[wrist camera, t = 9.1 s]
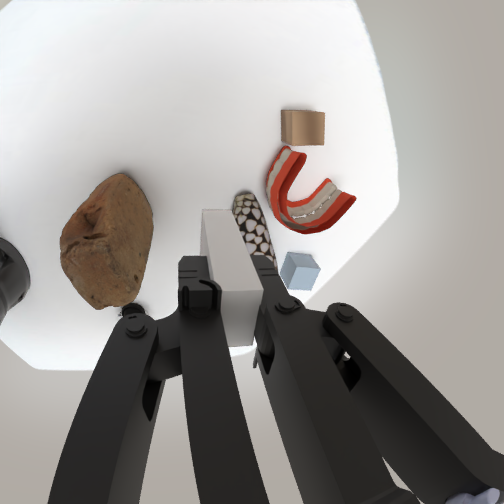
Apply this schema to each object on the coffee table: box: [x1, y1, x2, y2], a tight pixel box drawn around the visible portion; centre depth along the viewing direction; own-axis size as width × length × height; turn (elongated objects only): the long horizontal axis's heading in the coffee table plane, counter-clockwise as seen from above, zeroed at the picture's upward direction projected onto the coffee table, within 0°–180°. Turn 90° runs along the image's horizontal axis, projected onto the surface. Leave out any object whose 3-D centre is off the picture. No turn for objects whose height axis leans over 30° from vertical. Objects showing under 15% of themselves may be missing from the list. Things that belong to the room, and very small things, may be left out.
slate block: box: [280, 252, 320, 290], centre depth 52 cm, size 5×5×5 cm
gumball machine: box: [118, 304, 145, 317], centre depth 47 cm, size 7×6×10 cm
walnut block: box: [281, 110, 325, 146], centre depth 37 cm, size 5×5×5 cm
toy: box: [266, 146, 356, 234], centre depth 42 cm, size 12×10×8 cm
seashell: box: [233, 194, 278, 272], centre depth 44 cm, size 16×13×10 cm
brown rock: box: [60, 174, 153, 310], centre depth 31 cm, size 11×8×20 cm
